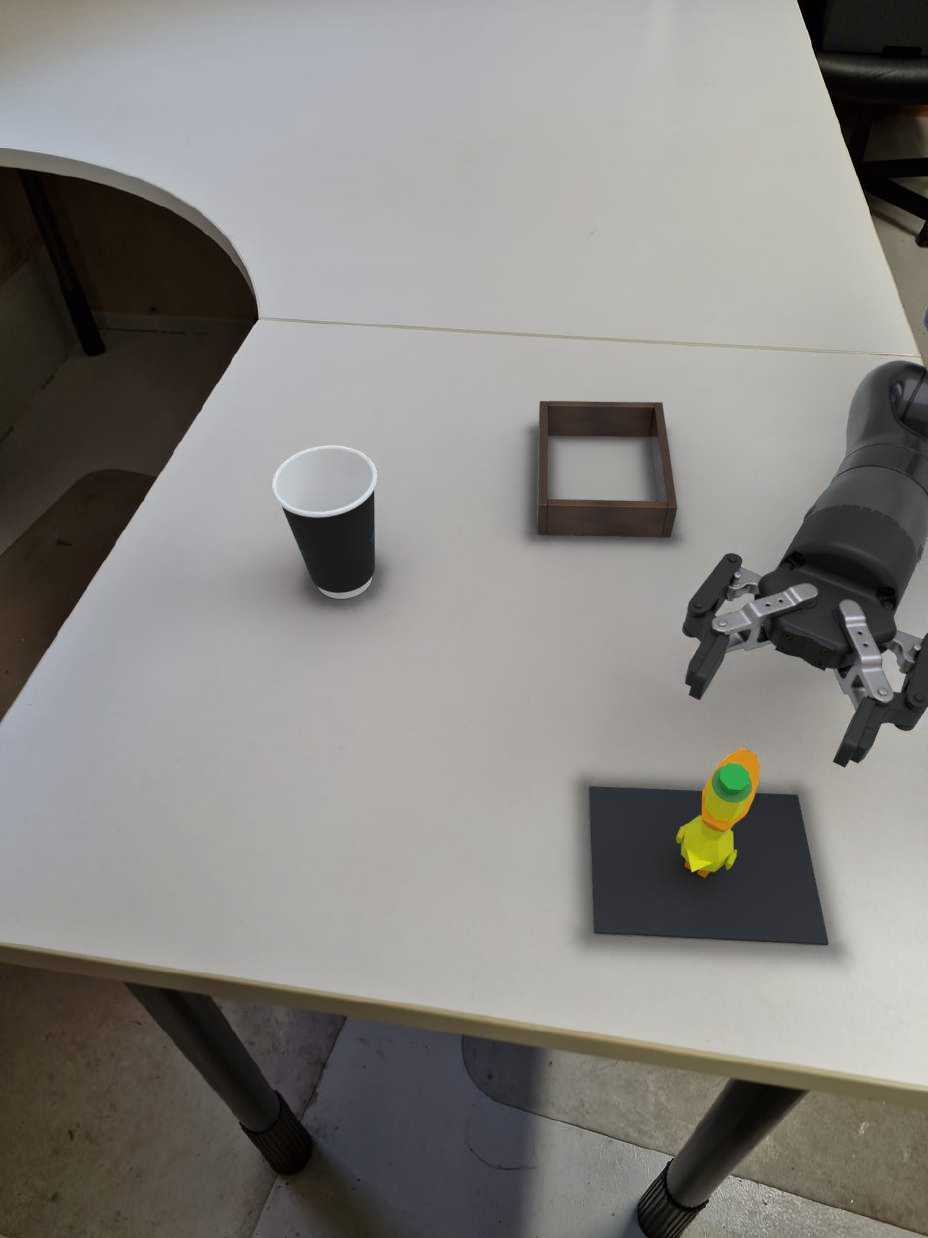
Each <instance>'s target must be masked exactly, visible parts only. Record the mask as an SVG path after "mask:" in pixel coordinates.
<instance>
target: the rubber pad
mask: <svg viewBox="0 0 928 1238" xmlns="http://www.w3.org/2000/svg"><path fill="white" fill-rule="evenodd" d="M588 790H589V792H588V793H589V816H590V817H589V820H590V844H591V845H590V847H591V873H592V874H591V876H592V903H593V904H592V907H593V933H594V934H600V935H601V934H602V935H620V936H621V935H623V936H641V937H658V938H659V937H661V938H678V939H679V938H680V939H699V940H715V941H716V940H718V941H719V940H720V941H739V942H757V943H776V944H795V945H796V944H797V945H812V946H813V945H815V946H829V939H828V933H827V928H826V924H825V918H824V914H823V909H822V904H821V899H820V895H819V890H818V889H819V888H818V885H817V880H816V876H815V875H816V874H815V871H814V865H813V861H812V856H811V851H810V847H809V842H808V837H807V832H806V827H805V822H804V818H803V812H802V808H801V807H802V806H801V802H800V799H799V795H798V794H793V793H791V794H789V793H788V794H787V793H769V792H768V793H767V792H766V793H765V792H764V793H763V792H755V796H754V799H753V801H752V803H751V805H750V808H749V810H748V812H747V814H746V815H745V816H744V817H743V818H742V819H741V820H739V821H738V822H737V823H735V824H734V825H733V826H732V828H731V829H730V830H731V831H732V832H733V848H734V850H735V849H737V856H736V858H735V861H734V863H733V865H732V867H731V868H730V869H728V870H727V869H726V866H725V864H724V865H723V866H722V867H720V868H719V869H718V870H716V871H715V872H711V871H710V872H709V874H708V875H707V876H706V877H705V878H704V877H702V876H700V875H698V874H697V873H698V870H696V871H694V872H692V870H690V869H688V868H686V867H684V866H685V861H686V859H685V858H684V857H683V856H682V855H681V842H680V843H677V841H676V836H677V834H678V832H679V830H680V828H681V826H684V825H685V824H688V823H689V822H691V821H692V820H694V819H695V818H696V817H698V816H699V815H702V791H703V790H695V789H694V790H693V789H692V790H691V789H671V788H670V789H669V788H667V789H666V788H646V787H645V788H642V787H619V786H617V787H616V786H596V785H595V786H593V785H589V789H588Z"/></svg>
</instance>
